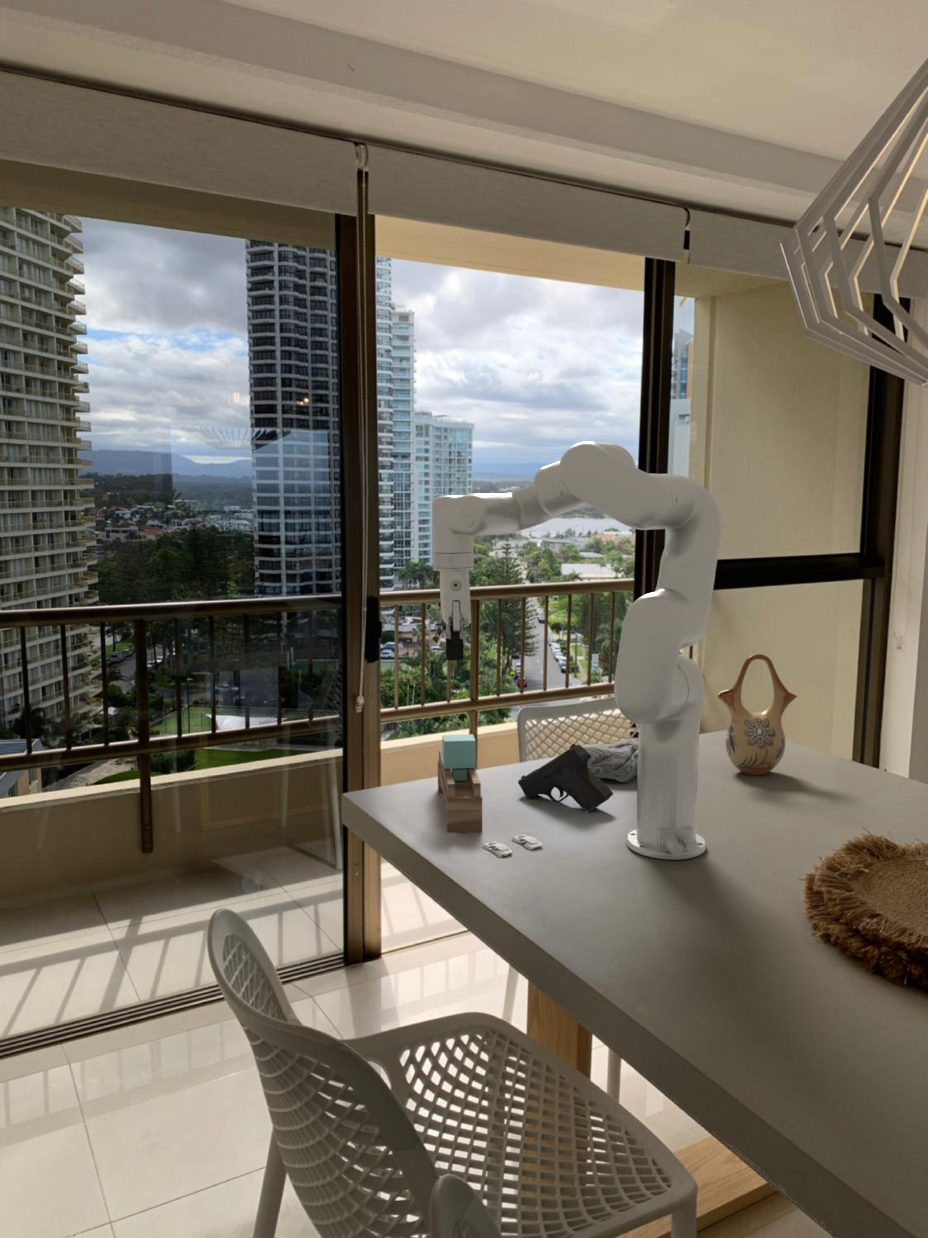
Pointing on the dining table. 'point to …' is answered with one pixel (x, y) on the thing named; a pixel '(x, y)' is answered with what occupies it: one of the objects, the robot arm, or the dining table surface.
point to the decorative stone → (614, 760)
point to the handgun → (567, 780)
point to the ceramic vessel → (756, 725)
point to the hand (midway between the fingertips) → (454, 659)
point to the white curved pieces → (505, 850)
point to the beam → (460, 799)
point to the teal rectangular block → (459, 754)
